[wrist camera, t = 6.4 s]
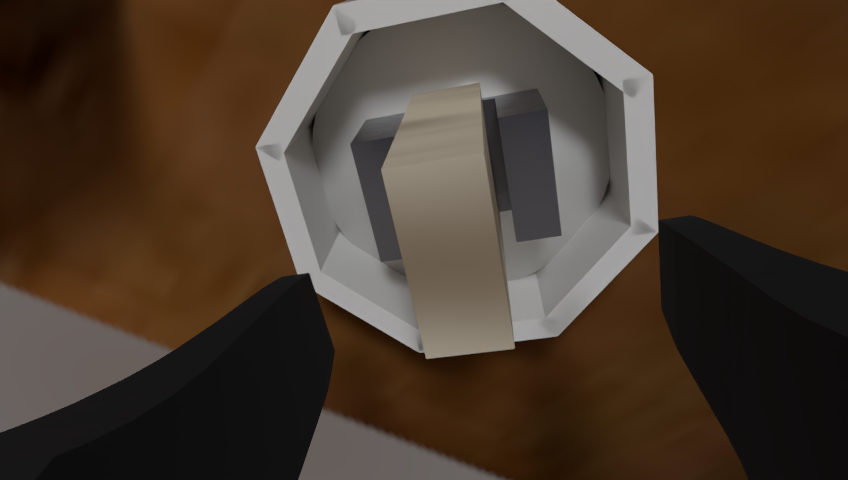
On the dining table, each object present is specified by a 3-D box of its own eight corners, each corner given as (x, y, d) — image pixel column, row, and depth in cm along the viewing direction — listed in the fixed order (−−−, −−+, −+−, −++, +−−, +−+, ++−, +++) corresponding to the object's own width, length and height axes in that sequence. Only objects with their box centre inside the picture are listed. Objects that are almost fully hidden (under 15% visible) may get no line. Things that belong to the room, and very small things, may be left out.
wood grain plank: (500, 222, 21) (515, 348, 14) (440, 231, 21) (426, 358, 15) (479, 82, 19) (483, 152, 12) (412, 94, 19) (380, 169, 12)
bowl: (634, 271, 23) (661, 324, 19) (346, 309, 24) (327, 364, 21) (615, -60, 18) (647, -63, 15) (258, 18, 20) (216, 30, 16)
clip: (550, 200, 21) (561, 235, 18) (391, 225, 22) (380, 262, 19) (537, 88, 19) (547, 109, 16) (365, 120, 20) (350, 144, 17)
